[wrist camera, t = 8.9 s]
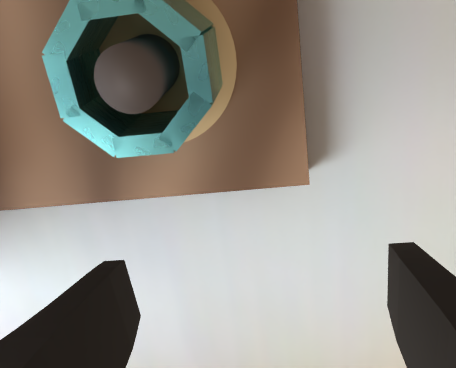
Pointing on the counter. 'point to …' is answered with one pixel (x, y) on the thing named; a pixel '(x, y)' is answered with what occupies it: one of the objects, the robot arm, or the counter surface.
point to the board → (154, 108)
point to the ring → (89, 53)
